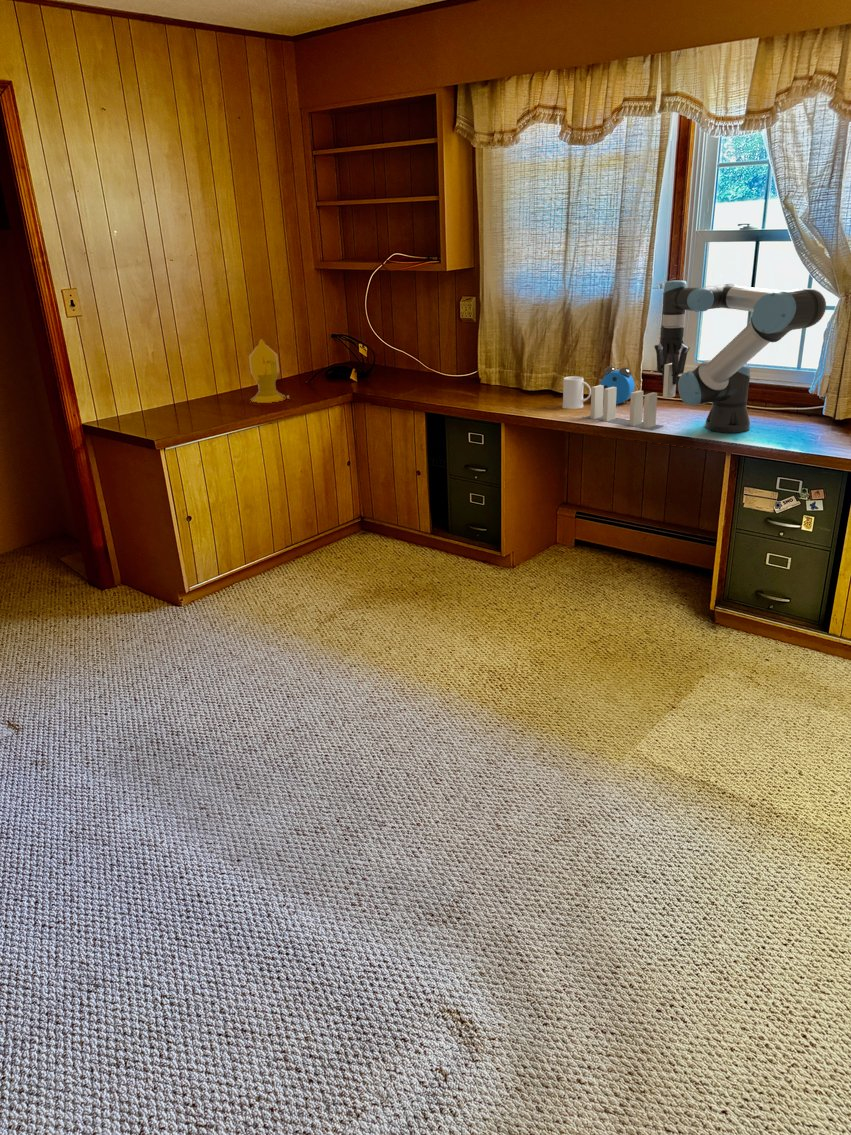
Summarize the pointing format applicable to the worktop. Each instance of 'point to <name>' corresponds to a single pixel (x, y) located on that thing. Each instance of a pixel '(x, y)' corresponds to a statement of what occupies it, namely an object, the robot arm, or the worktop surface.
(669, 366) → the domino
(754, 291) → the robot arm
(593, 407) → the domino
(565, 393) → the mug
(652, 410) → the domino
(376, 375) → the worktop surface
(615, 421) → the mat
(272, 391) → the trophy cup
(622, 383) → the alarm clock
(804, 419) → the worktop surface
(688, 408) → the worktop surface
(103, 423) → the worktop surface
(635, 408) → the domino
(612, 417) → the domino
